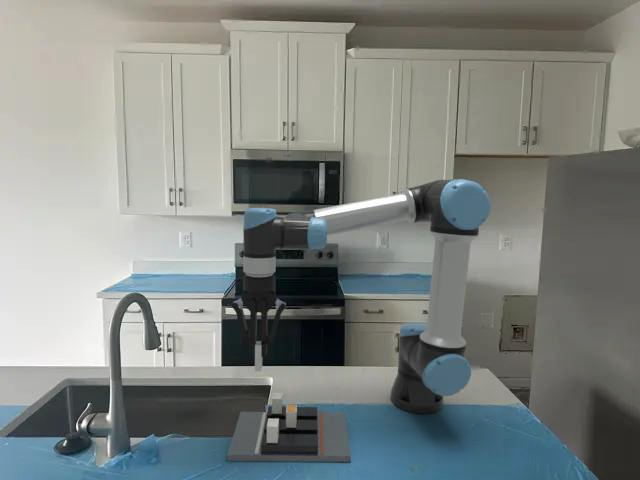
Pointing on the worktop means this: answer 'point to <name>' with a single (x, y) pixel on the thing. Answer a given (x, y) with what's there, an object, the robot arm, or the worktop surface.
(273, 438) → the handle
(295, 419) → the handle
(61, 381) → the worktop surface
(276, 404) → the handle
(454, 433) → the worktop surface
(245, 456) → the panel
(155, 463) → the worktop surface
